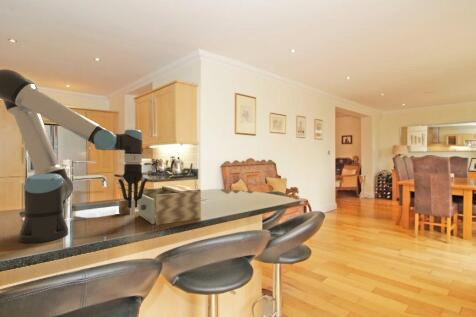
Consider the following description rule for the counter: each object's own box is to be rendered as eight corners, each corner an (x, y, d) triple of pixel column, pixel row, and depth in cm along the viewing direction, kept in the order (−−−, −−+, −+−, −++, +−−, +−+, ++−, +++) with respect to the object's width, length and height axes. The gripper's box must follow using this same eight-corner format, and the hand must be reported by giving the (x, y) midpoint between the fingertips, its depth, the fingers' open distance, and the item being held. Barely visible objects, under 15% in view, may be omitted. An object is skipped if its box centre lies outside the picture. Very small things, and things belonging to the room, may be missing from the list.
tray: (148, 224, 118) (148, 200, 118) (135, 215, 137) (135, 194, 137) (196, 217, 131) (196, 195, 131) (178, 210, 150) (178, 190, 150)
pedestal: (120, 214, 140) (120, 201, 140) (118, 213, 144) (118, 199, 144) (131, 213, 143) (130, 200, 143) (128, 211, 147) (128, 198, 147)
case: (156, 224, 119) (156, 192, 119) (141, 214, 140) (140, 187, 140) (200, 218, 131) (200, 189, 131) (180, 210, 152) (180, 184, 152)
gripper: (119, 163, 119) (118, 218, 119) (149, 163, 126) (149, 214, 126) (116, 163, 125) (115, 214, 125) (145, 163, 132) (144, 212, 132)
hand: (132, 214), depth 125 cm, fingers closed
